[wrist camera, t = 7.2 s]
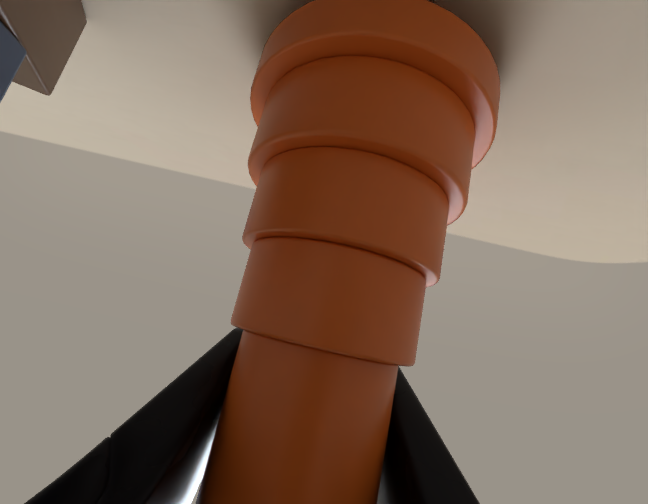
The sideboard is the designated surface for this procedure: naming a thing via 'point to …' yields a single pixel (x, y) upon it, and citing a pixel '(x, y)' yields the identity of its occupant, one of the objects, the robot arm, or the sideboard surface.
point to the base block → (43, 37)
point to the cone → (344, 239)
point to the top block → (9, 58)
